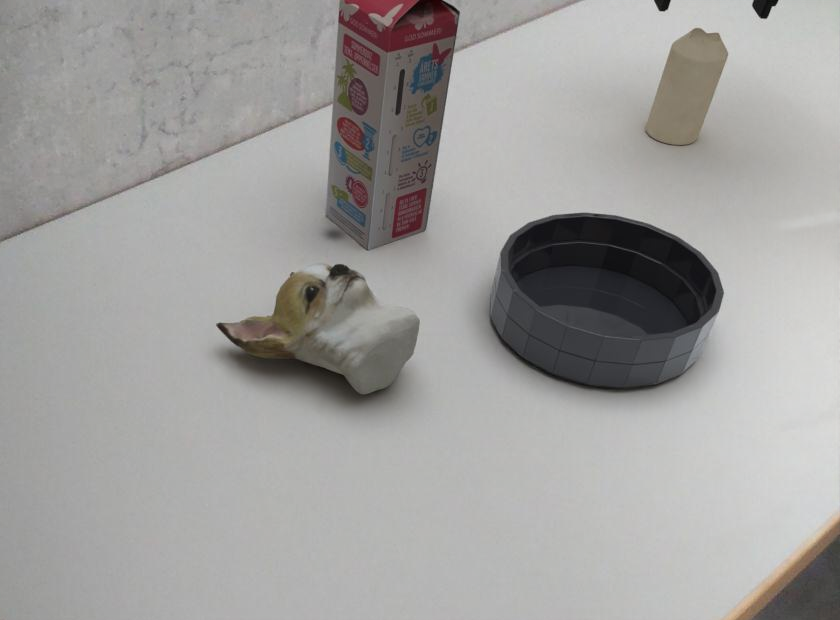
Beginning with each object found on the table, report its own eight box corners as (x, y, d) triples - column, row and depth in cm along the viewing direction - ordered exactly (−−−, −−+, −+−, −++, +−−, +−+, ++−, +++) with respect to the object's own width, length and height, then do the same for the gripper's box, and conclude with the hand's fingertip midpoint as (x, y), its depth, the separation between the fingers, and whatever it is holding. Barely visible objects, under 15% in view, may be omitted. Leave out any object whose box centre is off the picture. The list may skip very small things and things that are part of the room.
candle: (635, 124, 102) (666, 25, 94) (679, 118, 103) (713, 20, 96) (663, 148, 99) (697, 48, 91) (708, 142, 100) (745, 42, 92)
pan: (602, 245, 86) (618, 194, 82) (745, 352, 77) (770, 300, 73) (448, 295, 80) (457, 243, 76) (581, 418, 71) (600, 365, 67)
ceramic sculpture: (375, 335, 62) (204, 260, 68) (369, 436, 68) (212, 360, 74) (461, 266, 68) (296, 203, 74) (448, 366, 74) (296, 300, 80)
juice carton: (382, 196, 90) (412, -66, 74) (426, 230, 87) (467, -38, 70) (325, 215, 88) (342, -53, 71) (367, 250, 84) (396, -23, 68)
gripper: (694, -207, 76) (627, 19, 89) (907, -191, 76) (809, 32, 90) (674, -230, 81) (613, -12, 94) (875, -215, 81) (786, 0, 94)
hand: (709, 9), depth 92 cm, fingers open, 9 cm apart
